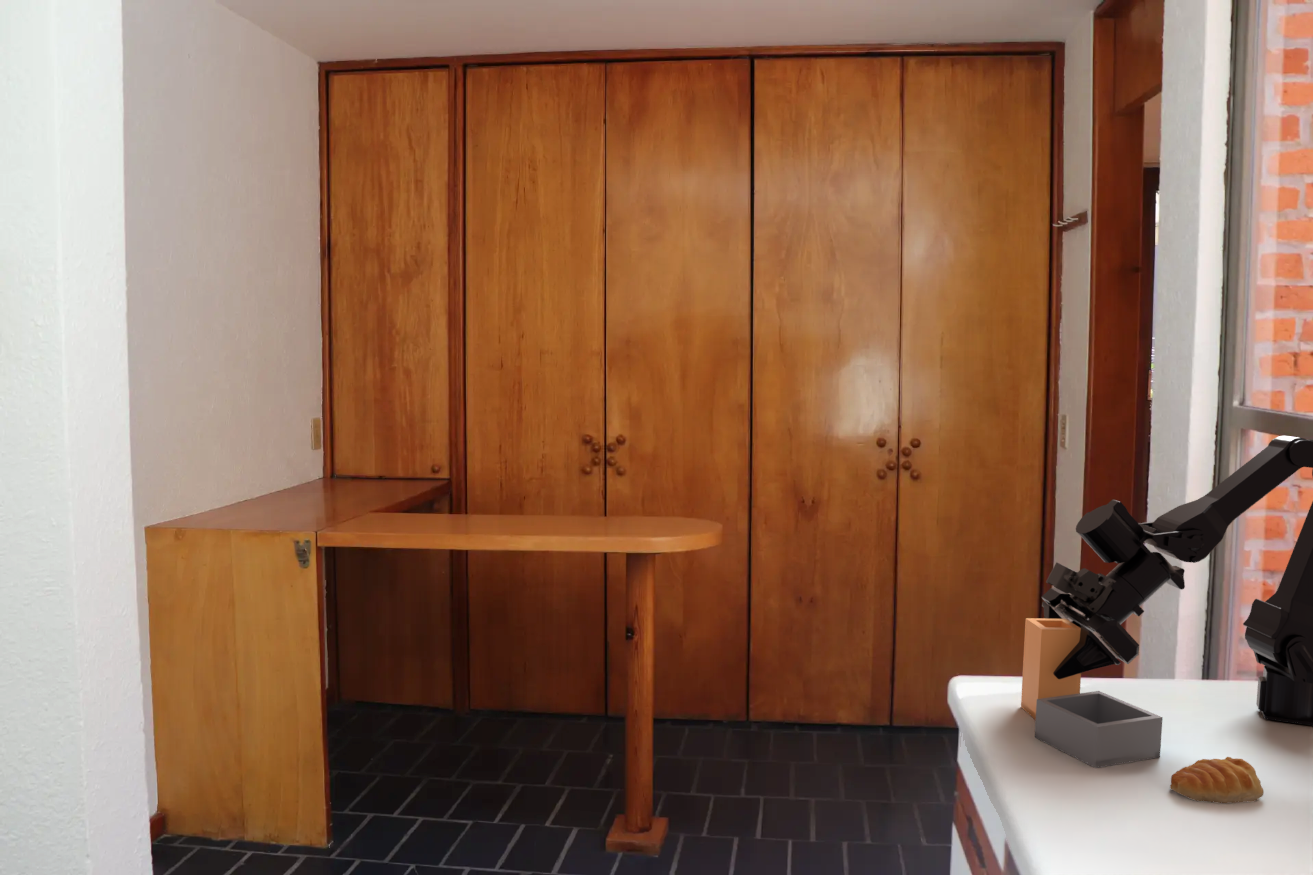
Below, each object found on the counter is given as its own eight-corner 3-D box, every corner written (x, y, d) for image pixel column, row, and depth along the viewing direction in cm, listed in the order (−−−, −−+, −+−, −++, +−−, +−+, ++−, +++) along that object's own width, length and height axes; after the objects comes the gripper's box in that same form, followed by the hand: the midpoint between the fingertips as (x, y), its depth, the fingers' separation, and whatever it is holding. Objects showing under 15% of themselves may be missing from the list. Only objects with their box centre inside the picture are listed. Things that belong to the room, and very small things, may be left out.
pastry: (1198, 811, 113) (1200, 777, 112) (1153, 786, 119) (1155, 753, 119) (1268, 802, 115) (1270, 769, 115) (1220, 778, 122) (1222, 746, 121)
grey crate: (1096, 727, 137) (1098, 690, 136) (1159, 756, 127) (1162, 717, 127) (1034, 737, 133) (1036, 698, 132) (1095, 767, 123) (1097, 726, 123)
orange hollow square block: (1060, 706, 144) (1065, 618, 143) (1078, 721, 139) (1083, 629, 138) (1020, 706, 144) (1025, 618, 143) (1036, 721, 139) (1041, 629, 138)
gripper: (1059, 531, 149) (979, 606, 149) (1120, 558, 130) (1028, 643, 131) (1110, 586, 150) (1030, 660, 150) (1178, 621, 131) (1086, 705, 132)
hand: (1041, 665), depth 141 cm, fingers open, 9 cm apart
